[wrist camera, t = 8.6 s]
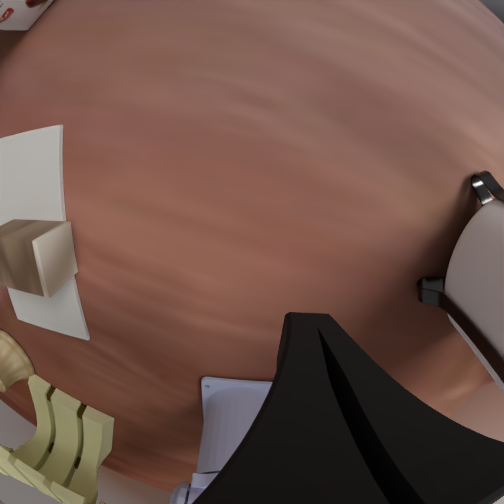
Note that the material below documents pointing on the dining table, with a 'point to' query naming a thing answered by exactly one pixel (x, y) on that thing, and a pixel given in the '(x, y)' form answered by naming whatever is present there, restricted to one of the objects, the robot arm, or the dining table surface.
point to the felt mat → (39, 208)
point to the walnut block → (36, 256)
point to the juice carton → (21, 13)
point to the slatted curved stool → (61, 447)
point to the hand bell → (12, 362)
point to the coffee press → (476, 280)
